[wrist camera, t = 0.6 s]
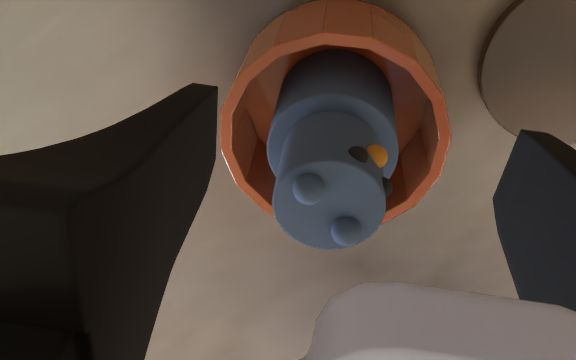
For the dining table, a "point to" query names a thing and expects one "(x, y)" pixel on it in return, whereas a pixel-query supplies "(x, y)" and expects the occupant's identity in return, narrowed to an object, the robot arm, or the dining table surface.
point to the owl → (332, 149)
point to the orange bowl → (345, 36)
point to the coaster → (532, 68)
